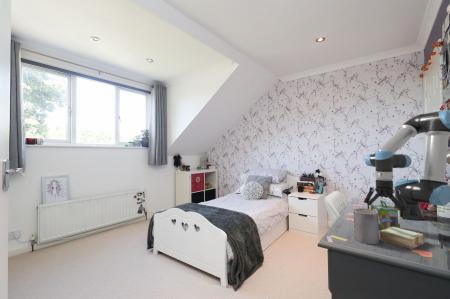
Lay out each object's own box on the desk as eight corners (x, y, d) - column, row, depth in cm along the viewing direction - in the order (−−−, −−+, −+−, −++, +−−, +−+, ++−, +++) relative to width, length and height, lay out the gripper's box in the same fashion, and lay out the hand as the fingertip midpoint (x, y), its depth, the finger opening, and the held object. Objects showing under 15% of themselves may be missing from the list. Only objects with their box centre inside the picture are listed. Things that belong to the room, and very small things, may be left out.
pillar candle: (358, 235, 108) (357, 204, 108) (382, 240, 101) (380, 207, 101) (351, 240, 102) (349, 208, 102) (376, 247, 94) (374, 212, 94)
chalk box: (400, 232, 110) (399, 203, 111) (380, 231, 112) (379, 202, 112) (390, 226, 119) (389, 199, 120) (372, 225, 121) (371, 199, 121)
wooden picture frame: (393, 234, 108) (392, 226, 108) (424, 243, 97) (423, 233, 97) (379, 239, 102) (379, 230, 102) (411, 249, 91) (410, 239, 91)
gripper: (356, 177, 125) (357, 215, 125) (409, 182, 104) (410, 227, 103) (364, 177, 129) (364, 213, 128) (416, 181, 107) (417, 225, 107)
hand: (385, 219), depth 116 cm, fingers open, 13 cm apart
